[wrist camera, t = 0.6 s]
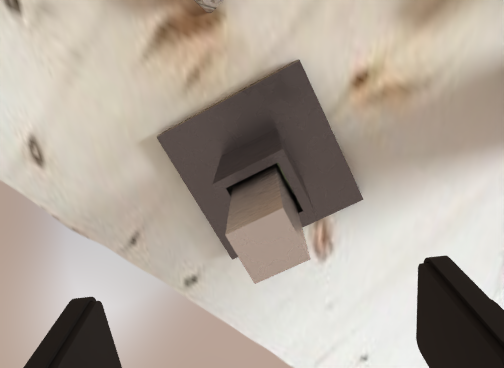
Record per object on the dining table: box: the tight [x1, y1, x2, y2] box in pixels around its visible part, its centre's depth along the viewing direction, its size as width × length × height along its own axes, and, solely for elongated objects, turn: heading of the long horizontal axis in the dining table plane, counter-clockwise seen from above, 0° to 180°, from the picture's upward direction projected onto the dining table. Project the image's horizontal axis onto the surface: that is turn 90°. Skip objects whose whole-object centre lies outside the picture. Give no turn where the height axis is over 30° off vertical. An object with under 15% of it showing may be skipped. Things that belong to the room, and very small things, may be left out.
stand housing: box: [157, 60, 363, 259], centre depth 36 cm, size 16×16×10 cm
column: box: [225, 162, 310, 284], centre depth 31 cm, size 4×4×16 cm
